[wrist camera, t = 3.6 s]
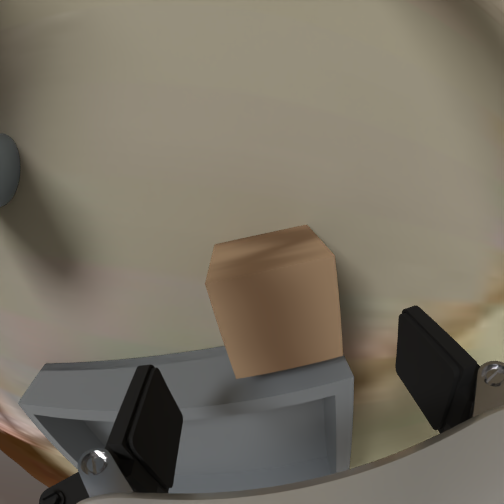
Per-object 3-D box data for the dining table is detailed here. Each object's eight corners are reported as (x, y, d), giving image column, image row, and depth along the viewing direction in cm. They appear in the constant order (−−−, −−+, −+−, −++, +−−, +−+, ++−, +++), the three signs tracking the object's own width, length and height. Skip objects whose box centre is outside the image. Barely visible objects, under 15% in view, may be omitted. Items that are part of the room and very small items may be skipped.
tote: (328, 323, 18) (353, 376, 13) (335, 451, 23) (346, 491, 18) (45, 363, 18) (17, 403, 13) (128, 469, 23) (120, 504, 19)
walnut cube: (306, 224, 16) (334, 255, 11) (318, 304, 17) (342, 355, 13) (214, 244, 16) (204, 283, 11) (236, 322, 17) (236, 378, 13)
